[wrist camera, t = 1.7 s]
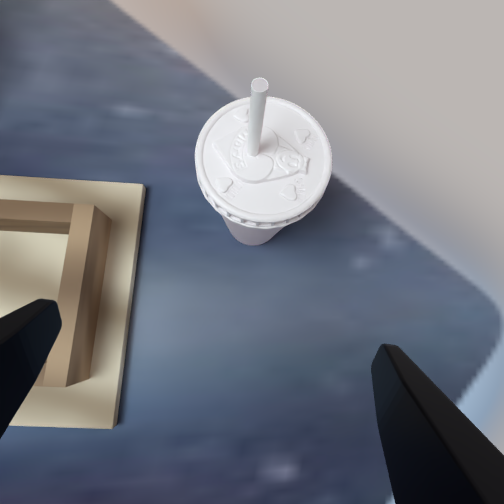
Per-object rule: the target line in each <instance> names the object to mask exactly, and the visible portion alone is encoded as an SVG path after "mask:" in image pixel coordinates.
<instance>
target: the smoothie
mask: <svg viewBox="0 0 504 504" xmlns="http://www.w3.org/2000/svg"><path fill="white" fill-rule="evenodd" d="M267 91H268V82H267V81H266V80H265V79H263V78H256V79H254V80H253V81H252V84H251V97H246V98H243V99H239V100H236V101H233V102H231V103H229V104H227V105H225V106H224V107H222V108H221V109H219V110H218V111H217V112H216V113H214V114H213V115H212V116H211V117H210V119H209V120H208V121H207V122H206V124H205V125H204V127H203V128H202V130H201V132H200V134H199V137H198V140H197V144H196V149H195V166H196V172H197V179H198V183H199V185H200V188H201V190H202V192H203V194H204V196H205V198H206V199H207V200H208V202H209V203H210V204H211V205H212V206H213V207H214V209H215V210H216V211H217V212H219V213H220V214H221V215H222V217H223V219H224V221H225V223H226V225H227V227H228V228H229V230H230V232H231V234H232V235H233V237H234V238H235V239H236V240H238V241H239V242H241V243H243V244H246V245H260V244H263V243H265V242H267V241H268V240H270V239H271V238H272V237H273V236H274V235H275V234H276V233H277V232H279V231H280V230H281V229H282V228H283V227H284V226H286V225H289V224H291V223H293V222H296V221H298V220H300V219H301V218H303V217H304V216H305V215H306V214H308V213H309V212H310V211H311V210H313V209H314V207H315V206H316V205H317V203H318V202H319V200H320V199H321V198H322V196H323V194H324V191H325V189H326V187H327V185H328V182H329V179H330V176H331V172H332V151H331V147H330V143H329V140H328V138H327V136H326V134H325V132H324V130H323V129H322V127H321V126H320V124H319V123H318V122H317V121H316V119H315V118H314V117H312V115H310V114H309V113H308V112H307V111H306V110H304V109H303V108H301V107H299V106H298V105H296V104H294V103H292V102H289V101H286V100H284V99H280V98H276V97H269V96H267Z"/></svg>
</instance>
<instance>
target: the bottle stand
mask: <svg viewBox="0 0 504 504" xmlns="http://www.w3.org/2000/svg"><path fill="white" fill-rule="evenodd" d="M145 191H146V188H145V187H144V185H143V184H132V183H116V182H100V181H84V180H69V179H53V178H37V177H21V176H5V175H0V318H1V317H3V316H5V315H7V314H9V313H11V312H13V311H15V310H17V309H19V308H21V307H23V306H25V305H27V304H29V303H31V302H33V301H35V300H37V299H40V298H43V299H50V300H55V301H56V302H57V304H58V308H59V312H60V316H61V319H62V327H61V330H60V333H59V335H58V337H57V339H56V341H55V343H54V345H53V347H52V349H51V351H50V353H49V355H48V357H47V360H46V362H45V364H44V366H43V368H42V370H41V372H40V374H39V376H38V378H37V380H36V381H35V383H34V385H33V387H32V388H31V390H30V392H29V393H28V395H27V396H26V398H25V400H24V401H23V403H22V405H21V406H20V408H19V409H18V411H17V413H16V414H15V416H14V417H13V419H12V421H11V422H10V424H9V425H11V426H41V427H70V428H100V429H113V428H114V427H115V426H116V425H117V418H118V410H119V402H120V394H121V386H122V378H123V370H124V362H125V353H126V345H127V337H128V329H129V321H130V313H131V305H132V297H133V289H134V281H135V272H136V264H137V256H138V248H139V240H140V232H141V224H142V216H143V208H144V200H145Z"/></svg>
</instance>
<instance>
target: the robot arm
mask: <svg viewBox="0 0 504 504" xmlns="http://www.w3.org/2000/svg"><path fill="white" fill-rule="evenodd" d="M61 327H62V319H61V316H60V312H59V308H58V304H57V302H56V301H55V300H50V299H43V298H40V299H37V300H35V301H33V302H31V303H29V304H27V305H25V306H23V307H21V308H19V309H17V310H15V311H13V312H11V313H9V314H7V315H5V316H3V317H1V318H0V439H1V437H2V435H3V434H4V432H5V430H6V429H7V427H8V426H9V424H10V422H11V421H12V419H13V417H14V416H15V414H16V413H17V411H18V409H19V408H20V406H21V405H22V403H23V401H24V400H25V398H26V396H27V395H28V393H29V392H30V390H31V388H32V387H33V385H34V383H35V381H36V380H37V378H38V376H39V374H40V372H41V370H42V368H43V366H44V364H45V362H46V360H47V357H48V355H49V353H50V351H51V349H52V347H53V345H54V343H55V341H56V339H57V337H58V335H59V333H60V330H61ZM371 373H372V382H373V391H374V399H375V408H376V416H377V423H378V429H379V434H380V438H381V443H382V447H383V451H384V456H385V460H386V465H387V469H388V473H389V478H390V482H391V486H392V491H393V495H394V500H395V504H504V455H503V454H502V453H501V452H500V451H499V450H498V449H497V448H496V447H495V446H494V445H493V444H492V443H491V442H490V441H489V440H488V439H487V438H486V437H485V436H484V435H483V433H482V432H481V431H480V430H479V429H478V428H477V427H476V426H475V425H474V424H473V423H472V422H471V421H470V420H469V419H468V418H467V417H466V416H465V415H464V414H463V413H462V412H461V411H460V410H459V409H458V408H457V407H456V405H455V404H454V403H453V402H452V401H451V400H450V399H449V398H448V397H447V396H446V395H445V394H444V393H443V392H442V391H441V390H440V389H439V388H438V387H437V386H436V385H435V384H434V383H433V382H432V381H431V380H430V379H429V378H428V377H427V375H426V374H425V373H424V372H423V371H422V370H421V369H420V368H419V367H418V366H417V365H416V364H415V363H414V362H413V361H412V360H411V359H410V358H409V357H408V356H407V355H406V354H405V353H404V352H403V351H402V350H401V349H400V348H399V347H398V346H396V345H391V344H382V345H380V347H379V349H378V351H377V353H376V355H375V358H374V360H373V362H372V365H371Z"/></svg>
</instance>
